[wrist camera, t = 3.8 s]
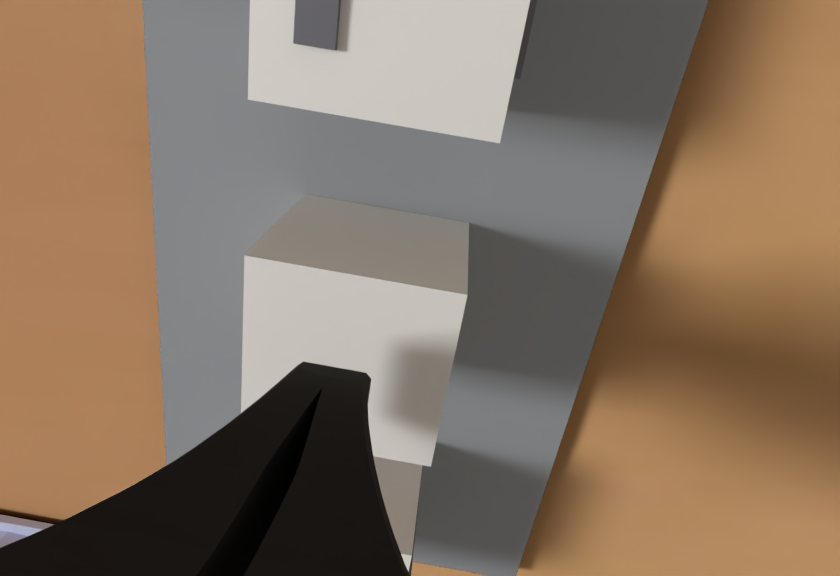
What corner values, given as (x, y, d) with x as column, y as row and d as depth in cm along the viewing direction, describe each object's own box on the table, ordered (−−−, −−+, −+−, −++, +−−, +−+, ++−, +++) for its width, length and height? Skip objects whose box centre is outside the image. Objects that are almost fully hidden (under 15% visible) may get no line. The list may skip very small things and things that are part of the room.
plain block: (441, 362, 17) (430, 466, 13) (295, 336, 17) (240, 432, 13) (468, 222, 15) (467, 295, 11) (305, 193, 15) (244, 255, 11)
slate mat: (513, 566, 21) (514, 580, 21) (176, 504, 22) (169, 517, 21) (745, -140, 12) (757, -147, 11) (144, -241, 12) (129, -253, 12)
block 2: (410, 536, 20) (393, 669, 16) (283, 513, 20) (233, 640, 16) (430, 439, 18) (417, 562, 14) (290, 414, 19) (236, 528, 14)
